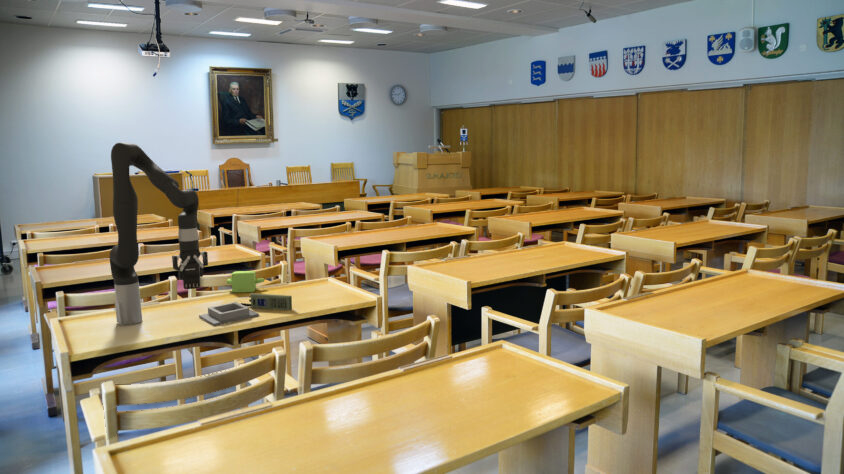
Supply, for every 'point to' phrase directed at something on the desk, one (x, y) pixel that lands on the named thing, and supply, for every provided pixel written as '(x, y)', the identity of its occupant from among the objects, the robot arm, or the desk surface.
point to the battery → (191, 276)
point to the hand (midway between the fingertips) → (191, 278)
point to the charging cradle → (227, 313)
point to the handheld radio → (270, 301)
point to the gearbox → (244, 281)
